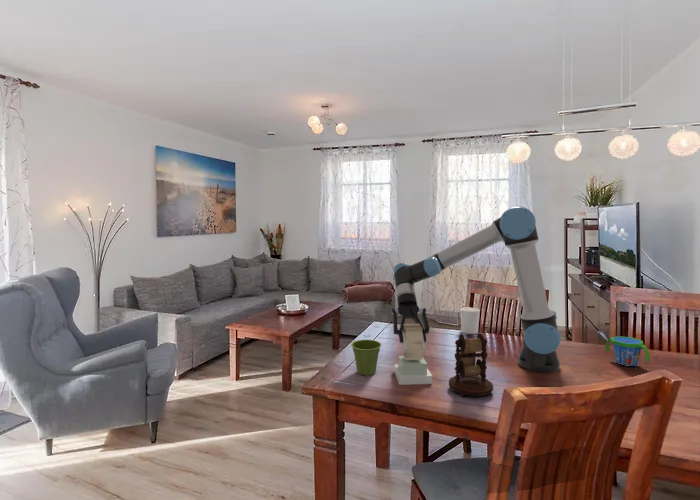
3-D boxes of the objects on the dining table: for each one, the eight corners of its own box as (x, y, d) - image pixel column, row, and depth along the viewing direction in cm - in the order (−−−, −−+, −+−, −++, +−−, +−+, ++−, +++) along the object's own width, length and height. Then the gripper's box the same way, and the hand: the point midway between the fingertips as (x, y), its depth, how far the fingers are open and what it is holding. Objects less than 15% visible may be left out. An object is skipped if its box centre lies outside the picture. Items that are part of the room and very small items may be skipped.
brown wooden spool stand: (481, 380, 146) (482, 327, 144) (501, 398, 131) (502, 339, 129) (442, 382, 144) (443, 329, 142) (458, 401, 129) (459, 341, 128)
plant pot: (345, 371, 155) (344, 343, 154) (368, 364, 163) (368, 337, 162) (364, 381, 146) (364, 351, 145) (387, 373, 153) (387, 344, 152)
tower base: (394, 371, 154) (394, 354, 154) (424, 371, 155) (424, 353, 154) (399, 384, 142) (399, 365, 142) (432, 383, 143) (432, 365, 142)
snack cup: (598, 359, 165) (599, 336, 165) (616, 356, 169) (617, 333, 168) (636, 373, 151) (637, 347, 150) (655, 369, 154) (656, 344, 153)
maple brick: (403, 354, 151) (403, 323, 150) (418, 354, 151) (418, 323, 150) (406, 360, 145) (406, 328, 144) (422, 359, 145) (422, 327, 144)
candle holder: (469, 335, 201) (469, 312, 200) (455, 330, 210) (456, 308, 209) (483, 332, 206) (483, 310, 205) (469, 328, 214) (470, 306, 213)
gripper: (428, 301, 162) (438, 354, 147) (382, 302, 162) (387, 355, 147) (431, 291, 157) (442, 344, 142) (383, 292, 156) (389, 346, 141)
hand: (414, 350), depth 144 cm, fingers closed on maple brick, 6 cm apart
